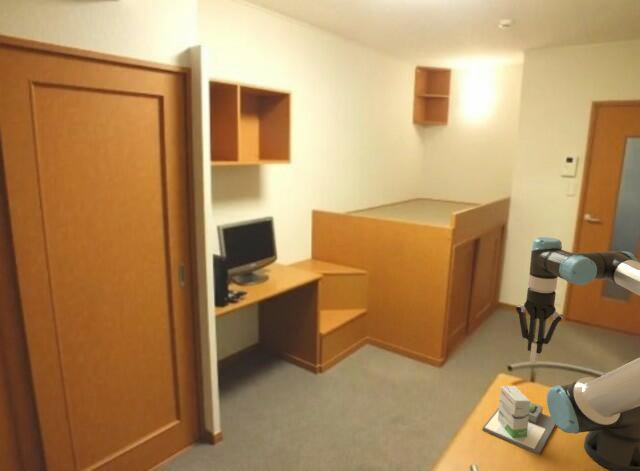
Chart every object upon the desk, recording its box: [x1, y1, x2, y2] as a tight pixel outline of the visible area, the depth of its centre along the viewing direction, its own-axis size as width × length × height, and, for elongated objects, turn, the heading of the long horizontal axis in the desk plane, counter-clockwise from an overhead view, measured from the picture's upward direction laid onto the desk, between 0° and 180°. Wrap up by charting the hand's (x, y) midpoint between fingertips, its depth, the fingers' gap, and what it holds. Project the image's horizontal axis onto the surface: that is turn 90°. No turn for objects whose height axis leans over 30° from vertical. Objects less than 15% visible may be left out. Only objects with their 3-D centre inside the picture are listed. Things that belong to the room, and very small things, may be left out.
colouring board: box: [482, 401, 557, 456], centre depth 131 cm, size 16×20×3 cm
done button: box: [529, 402, 535, 414], centre depth 136 cm, size 4×4×3 cm
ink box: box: [498, 385, 531, 438], centre depth 128 cm, size 9×5×12 cm, turn 7°
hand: (533, 361), depth 132 cm, fingers closed
